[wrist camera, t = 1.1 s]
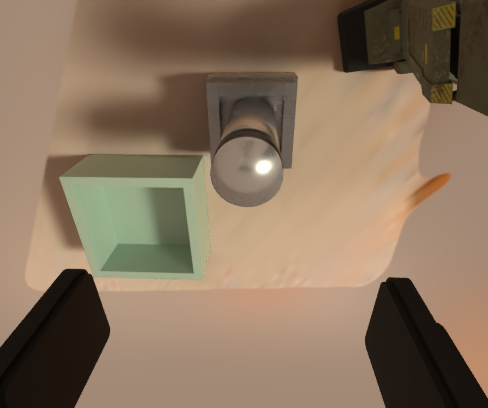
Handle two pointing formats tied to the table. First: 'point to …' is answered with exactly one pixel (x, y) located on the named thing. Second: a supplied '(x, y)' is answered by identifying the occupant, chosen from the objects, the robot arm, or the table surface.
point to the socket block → (259, 87)
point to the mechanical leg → (423, 45)
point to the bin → (141, 215)
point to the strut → (248, 156)
